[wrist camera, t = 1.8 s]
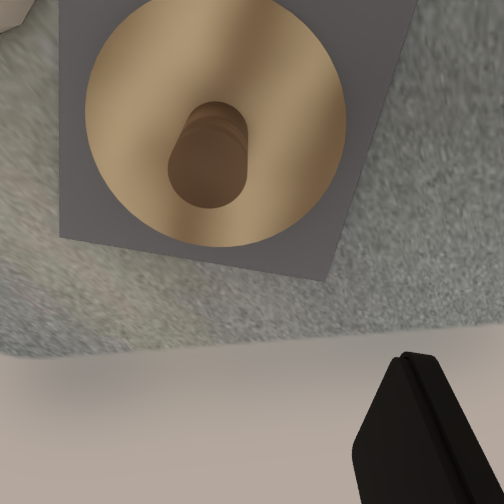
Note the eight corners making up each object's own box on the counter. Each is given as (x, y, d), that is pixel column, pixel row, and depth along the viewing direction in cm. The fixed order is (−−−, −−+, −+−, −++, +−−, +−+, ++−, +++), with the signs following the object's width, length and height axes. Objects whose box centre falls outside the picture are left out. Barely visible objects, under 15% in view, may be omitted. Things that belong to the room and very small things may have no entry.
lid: (378, 19, 22) (420, 32, 16) (307, 257, 28) (321, 323, 23) (93, -45, 21) (37, -54, 15) (86, 219, 27) (44, 279, 22)
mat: (416, -10, 22) (420, -9, 21) (323, 276, 30) (324, 281, 29) (63, -93, 20) (58, -95, 20) (62, 232, 28) (59, 237, 28)
